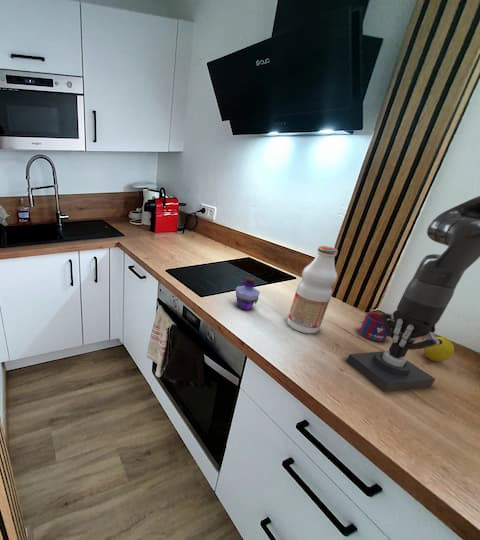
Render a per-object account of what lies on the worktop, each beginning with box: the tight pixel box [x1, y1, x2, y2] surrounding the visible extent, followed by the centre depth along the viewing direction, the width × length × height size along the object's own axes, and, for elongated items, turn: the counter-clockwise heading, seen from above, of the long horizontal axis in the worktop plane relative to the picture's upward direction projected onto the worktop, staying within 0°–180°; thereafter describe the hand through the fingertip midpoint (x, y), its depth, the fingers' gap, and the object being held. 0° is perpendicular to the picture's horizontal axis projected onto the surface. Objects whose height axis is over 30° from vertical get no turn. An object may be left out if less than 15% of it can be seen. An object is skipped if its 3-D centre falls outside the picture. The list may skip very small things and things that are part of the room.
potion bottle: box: [235, 276, 261, 312], centre depth 106 cm, size 9×9×12 cm
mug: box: [358, 310, 388, 343], centre depth 93 cm, size 7×10×7 cm
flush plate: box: [346, 350, 436, 393], centre depth 76 cm, size 14×11×4 cm
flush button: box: [382, 350, 408, 367], centre depth 75 cm, size 4×4×2 cm
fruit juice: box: [286, 245, 339, 334], centre depth 92 cm, size 9×9×28 cm
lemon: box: [423, 336, 455, 362], centre depth 81 cm, size 6×6×8 cm
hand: (394, 355), depth 75 cm, fingers closed
